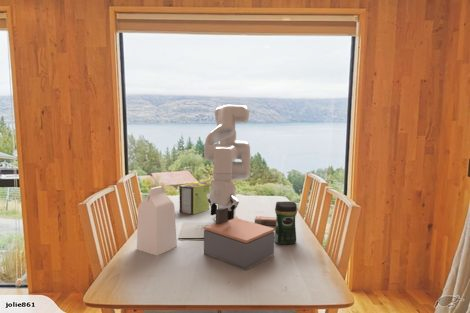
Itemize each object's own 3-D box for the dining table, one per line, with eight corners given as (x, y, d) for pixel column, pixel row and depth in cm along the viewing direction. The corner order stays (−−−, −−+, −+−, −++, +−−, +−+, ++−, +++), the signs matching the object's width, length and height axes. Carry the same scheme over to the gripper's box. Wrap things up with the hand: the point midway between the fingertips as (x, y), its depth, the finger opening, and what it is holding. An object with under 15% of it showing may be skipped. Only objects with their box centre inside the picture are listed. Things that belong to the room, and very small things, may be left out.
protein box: (209, 208, 208) (210, 183, 206) (193, 215, 195) (193, 187, 193) (195, 206, 214) (196, 181, 212) (179, 212, 201) (178, 185, 199)
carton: (203, 253, 143) (204, 230, 141) (232, 241, 156) (233, 220, 155) (245, 270, 128) (246, 244, 127) (273, 255, 142) (274, 232, 141)
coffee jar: (293, 238, 161) (294, 199, 159) (297, 245, 154) (299, 204, 151) (272, 239, 161) (273, 199, 158) (276, 245, 153) (277, 204, 150)
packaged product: (254, 219, 174) (255, 214, 184) (253, 229, 175) (254, 223, 185) (290, 221, 172) (289, 215, 182) (290, 231, 173) (289, 224, 183)
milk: (156, 255, 140) (156, 192, 137) (136, 249, 146) (135, 188, 143) (177, 246, 150) (176, 186, 147) (157, 240, 156) (156, 183, 153)
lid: (203, 229, 141) (204, 212, 140) (233, 219, 155) (233, 203, 154) (246, 243, 127) (246, 224, 126) (274, 231, 140) (275, 214, 140)
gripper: (201, 175, 147) (201, 214, 149) (232, 181, 136) (231, 223, 138) (213, 172, 153) (213, 211, 155) (244, 178, 142) (243, 219, 144)
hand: (222, 217), depth 147 cm, fingers open, 9 cm apart
